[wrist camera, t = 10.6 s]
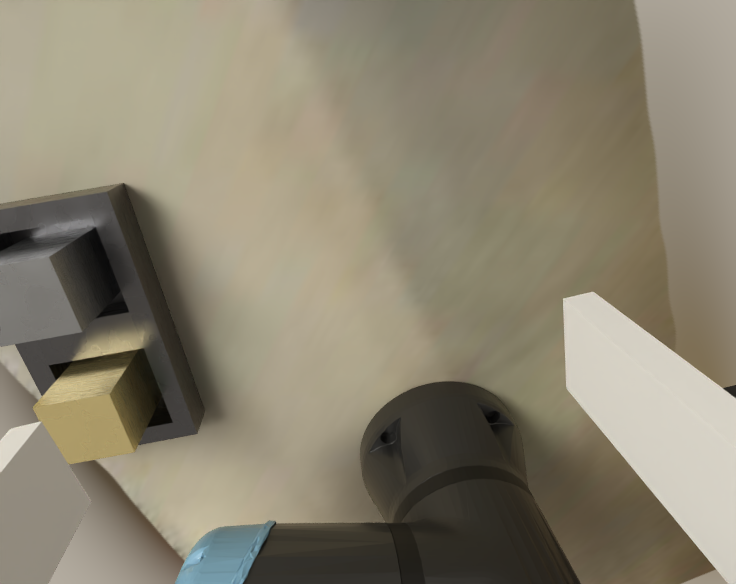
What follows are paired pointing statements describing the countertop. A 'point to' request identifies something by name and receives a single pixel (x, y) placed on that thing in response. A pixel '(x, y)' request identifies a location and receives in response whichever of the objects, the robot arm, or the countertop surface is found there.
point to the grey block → (53, 285)
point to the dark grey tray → (111, 303)
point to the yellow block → (100, 405)
